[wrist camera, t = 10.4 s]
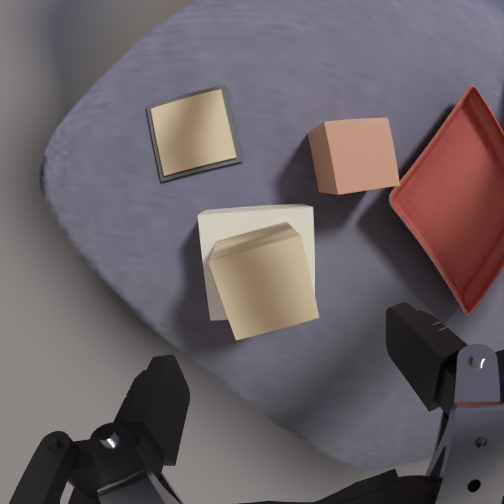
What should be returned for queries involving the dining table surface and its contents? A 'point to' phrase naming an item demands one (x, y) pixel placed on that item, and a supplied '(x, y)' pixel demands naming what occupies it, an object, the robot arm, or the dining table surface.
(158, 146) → the tile
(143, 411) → the robot arm
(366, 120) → the terracotta cube
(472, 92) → the plant saucer
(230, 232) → the base slab
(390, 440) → the dining table surface
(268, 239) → the maple cube
